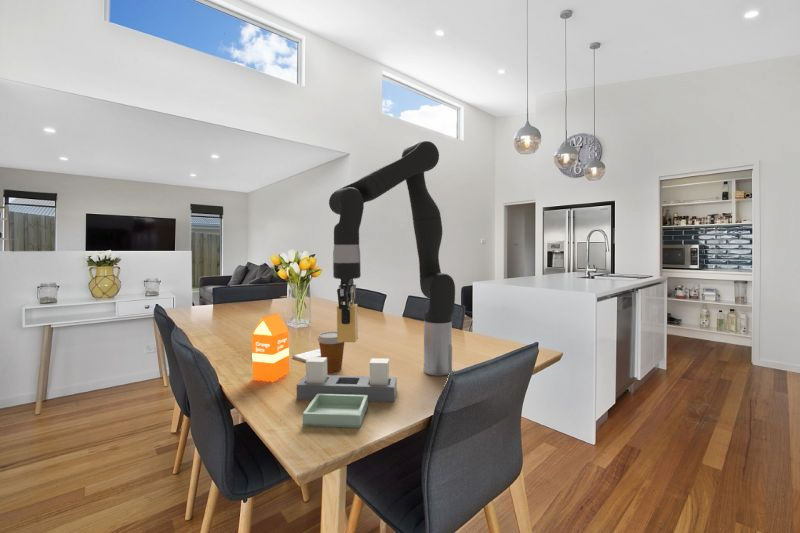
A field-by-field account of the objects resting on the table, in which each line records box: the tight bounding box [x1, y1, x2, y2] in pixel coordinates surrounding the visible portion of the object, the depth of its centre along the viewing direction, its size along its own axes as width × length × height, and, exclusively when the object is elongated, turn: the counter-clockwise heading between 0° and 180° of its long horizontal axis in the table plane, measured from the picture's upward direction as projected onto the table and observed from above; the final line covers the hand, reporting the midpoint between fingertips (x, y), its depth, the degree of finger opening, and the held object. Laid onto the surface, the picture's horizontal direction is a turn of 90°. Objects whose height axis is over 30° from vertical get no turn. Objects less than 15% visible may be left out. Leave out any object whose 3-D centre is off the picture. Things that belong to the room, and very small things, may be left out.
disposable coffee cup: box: [317, 331, 345, 373], centre depth 126 cm, size 10×10×12 cm
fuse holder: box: [296, 374, 398, 403], centre depth 104 cm, size 27×8×4 cm, turn 86°
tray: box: [302, 394, 369, 429], centre depth 92 cm, size 14×12×3 cm
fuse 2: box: [369, 357, 390, 385], centre depth 104 cm, size 5×4×10 cm
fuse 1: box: [305, 357, 328, 384], centre depth 105 cm, size 5×4×10 cm
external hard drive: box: [292, 348, 321, 363], centre depth 141 cm, size 2×8×12 cm
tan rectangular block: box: [336, 303, 359, 343], centre depth 103 cm, size 5×4×10 cm
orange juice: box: [251, 312, 290, 383], centre depth 119 cm, size 8×9×20 cm
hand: (347, 321), depth 103 cm, fingers closed on tan rectangular block, 4 cm apart
